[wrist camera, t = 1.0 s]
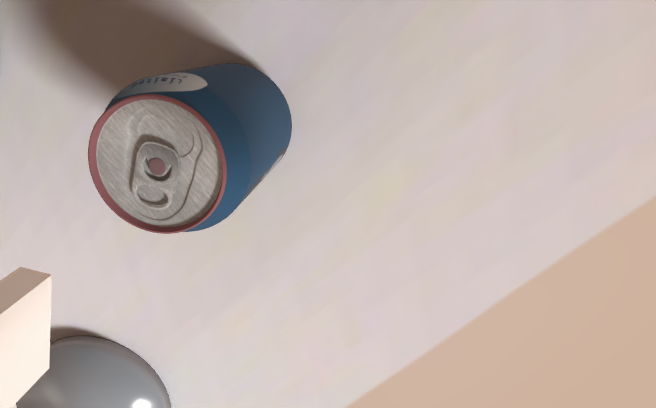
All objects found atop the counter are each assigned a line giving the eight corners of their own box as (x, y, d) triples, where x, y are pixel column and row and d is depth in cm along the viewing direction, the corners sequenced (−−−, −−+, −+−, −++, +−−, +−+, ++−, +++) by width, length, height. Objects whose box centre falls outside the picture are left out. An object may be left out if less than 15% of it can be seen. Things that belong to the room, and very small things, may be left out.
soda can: (200, 46, 30) (84, 54, 19) (309, 82, 30) (258, 112, 19) (178, 153, 33) (63, 217, 21) (279, 187, 32) (218, 269, 21)
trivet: (7, 408, 42) (-6, 421, 40) (62, 307, 38) (50, 318, 36) (131, 483, 43) (122, 498, 41) (198, 393, 39) (190, 406, 37)
